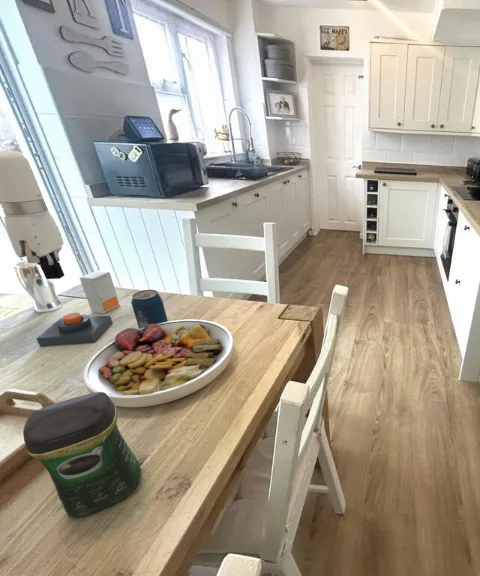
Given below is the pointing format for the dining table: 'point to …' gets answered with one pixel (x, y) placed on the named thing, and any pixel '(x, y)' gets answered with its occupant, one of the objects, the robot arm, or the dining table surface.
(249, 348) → the dining table surface
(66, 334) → the button base
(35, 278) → the beer glass
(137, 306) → the soda can
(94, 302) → the cosmetic box
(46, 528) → the dining table surface
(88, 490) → the coffee jar
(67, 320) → the orange button cap
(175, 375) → the white plate of food
